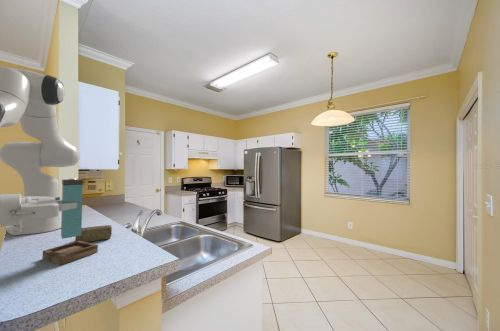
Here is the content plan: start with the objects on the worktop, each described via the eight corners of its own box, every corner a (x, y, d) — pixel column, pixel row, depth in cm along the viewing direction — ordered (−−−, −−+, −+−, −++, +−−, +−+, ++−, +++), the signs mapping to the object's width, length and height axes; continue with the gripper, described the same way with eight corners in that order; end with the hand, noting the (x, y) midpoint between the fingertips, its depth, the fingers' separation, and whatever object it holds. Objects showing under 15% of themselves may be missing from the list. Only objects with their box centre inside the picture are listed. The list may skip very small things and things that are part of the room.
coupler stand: (42, 259, 65) (42, 250, 65) (78, 247, 74) (78, 240, 74) (62, 265, 61) (62, 256, 61) (97, 252, 71) (97, 244, 71)
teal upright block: (60, 235, 68) (62, 178, 68) (79, 232, 71) (80, 178, 71) (61, 238, 64) (63, 179, 65) (81, 235, 68) (83, 178, 68)
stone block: (111, 239, 83) (111, 227, 83) (74, 245, 77) (74, 231, 77) (111, 235, 88) (112, 223, 88) (76, 240, 82) (77, 227, 82)
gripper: (8, 203, 51) (80, 197, 61) (14, 194, 66) (72, 191, 76) (8, 228, 51) (80, 219, 61) (13, 214, 66) (71, 209, 76)
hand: (75, 203), depth 69 cm, fingers closed on teal upright block, 5 cm apart
